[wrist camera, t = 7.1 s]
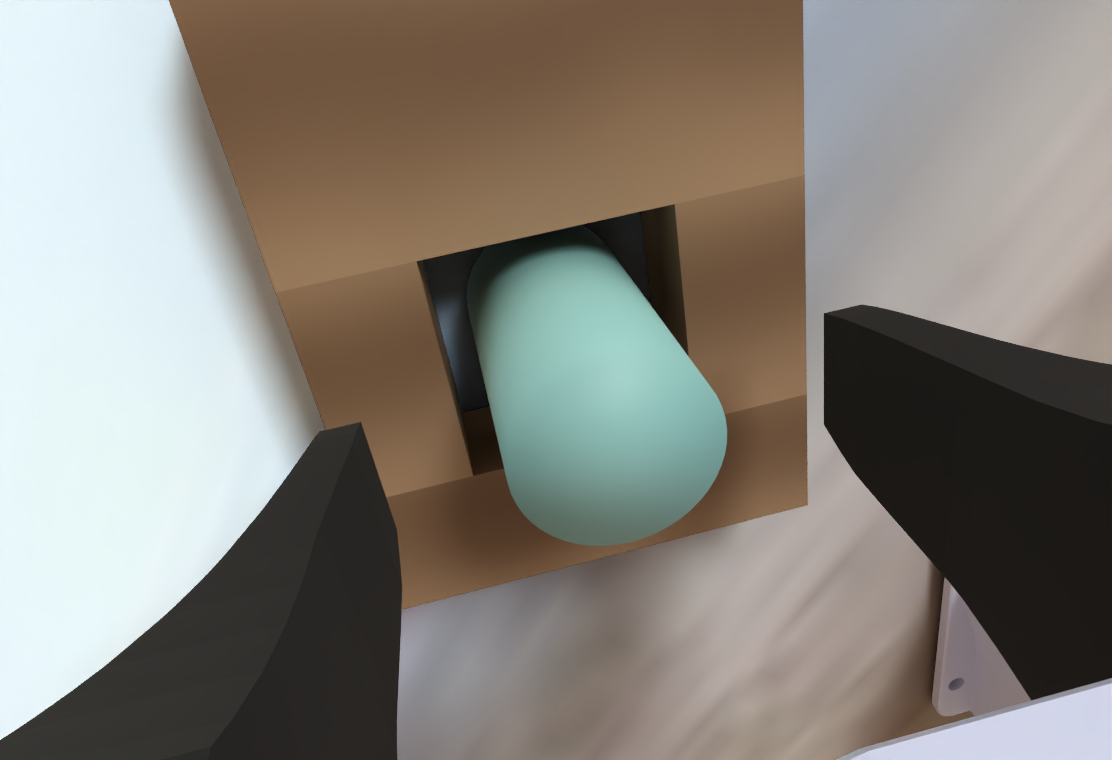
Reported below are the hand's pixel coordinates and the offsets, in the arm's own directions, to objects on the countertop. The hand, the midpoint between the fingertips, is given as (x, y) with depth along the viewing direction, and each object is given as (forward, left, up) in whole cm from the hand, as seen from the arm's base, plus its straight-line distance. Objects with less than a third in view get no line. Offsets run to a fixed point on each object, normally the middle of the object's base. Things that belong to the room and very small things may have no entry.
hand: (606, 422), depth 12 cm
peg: (0, 0, -5) cm, 5 cm away
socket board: (+1, 0, -5) cm, 5 cm away
